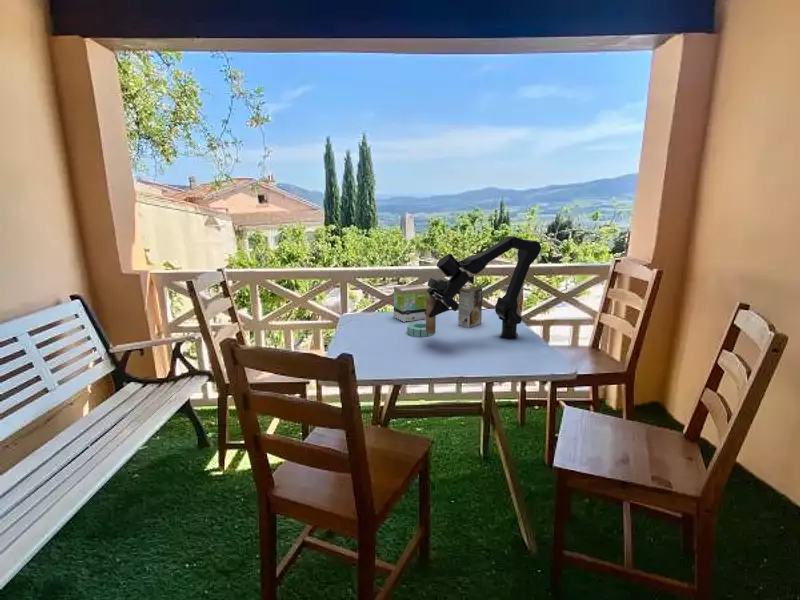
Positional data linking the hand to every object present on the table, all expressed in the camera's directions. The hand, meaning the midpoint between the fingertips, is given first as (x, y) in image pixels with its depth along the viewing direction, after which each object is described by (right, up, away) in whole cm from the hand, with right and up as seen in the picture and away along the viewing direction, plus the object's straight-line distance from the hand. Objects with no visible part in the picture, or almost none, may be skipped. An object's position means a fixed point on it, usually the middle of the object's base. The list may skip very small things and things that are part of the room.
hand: (427, 315), depth 170 cm
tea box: (-4, -3, +41) cm, 41 cm away
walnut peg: (+1, -6, +2) cm, 7 cm away
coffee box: (+20, -5, +30) cm, 36 cm away
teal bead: (-2, -8, +18) cm, 20 cm away
